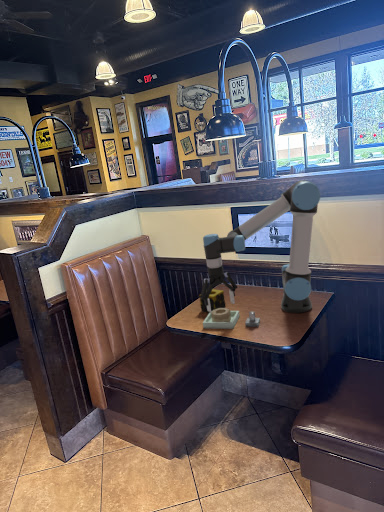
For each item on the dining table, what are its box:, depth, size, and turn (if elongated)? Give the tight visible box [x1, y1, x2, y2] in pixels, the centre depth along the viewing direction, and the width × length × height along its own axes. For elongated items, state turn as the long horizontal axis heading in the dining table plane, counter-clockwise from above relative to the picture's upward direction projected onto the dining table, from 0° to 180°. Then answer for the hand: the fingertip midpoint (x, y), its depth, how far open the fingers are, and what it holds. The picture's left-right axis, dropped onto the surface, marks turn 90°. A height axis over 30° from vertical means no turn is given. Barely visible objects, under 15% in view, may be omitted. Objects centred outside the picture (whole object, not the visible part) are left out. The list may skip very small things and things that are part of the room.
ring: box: [211, 307, 231, 322], centre depth 189 cm, size 11×9×5 cm
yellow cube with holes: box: [198, 288, 227, 314], centre depth 206 cm, size 10×10×10 cm
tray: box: [202, 310, 241, 330], centre depth 188 cm, size 15×15×3 cm
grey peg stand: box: [244, 311, 261, 328], centre depth 180 cm, size 6×6×6 cm
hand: (221, 307), depth 186 cm, fingers open, 13 cm apart
